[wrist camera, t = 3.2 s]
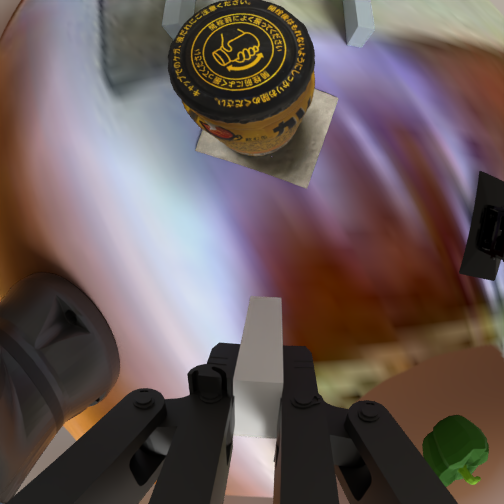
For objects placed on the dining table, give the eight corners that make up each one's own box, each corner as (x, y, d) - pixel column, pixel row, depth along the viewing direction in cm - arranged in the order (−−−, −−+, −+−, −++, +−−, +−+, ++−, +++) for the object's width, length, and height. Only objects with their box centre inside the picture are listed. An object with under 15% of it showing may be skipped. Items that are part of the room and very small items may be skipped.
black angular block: (472, 152, 19) (504, 151, 15) (519, 176, 19) (549, 180, 15) (443, 287, 23) (469, 307, 18) (492, 295, 22) (517, 313, 18)
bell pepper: (405, 435, 27) (429, 496, 17) (462, 396, 25) (498, 451, 15) (423, 456, 28) (444, 508, 18) (472, 423, 26) (500, 470, 17)
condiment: (228, 63, 19) (188, -30, 7) (338, 98, 19) (401, 29, 7) (195, 151, 21) (114, 128, 9) (306, 188, 21) (347, 204, 9)
